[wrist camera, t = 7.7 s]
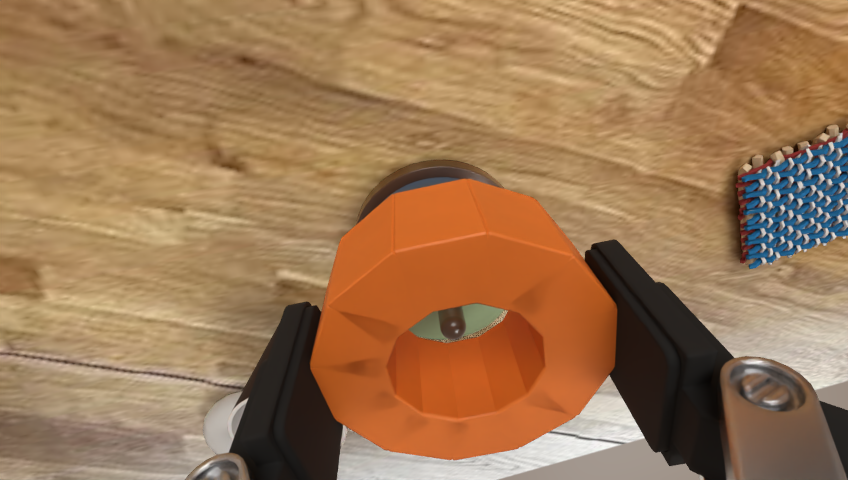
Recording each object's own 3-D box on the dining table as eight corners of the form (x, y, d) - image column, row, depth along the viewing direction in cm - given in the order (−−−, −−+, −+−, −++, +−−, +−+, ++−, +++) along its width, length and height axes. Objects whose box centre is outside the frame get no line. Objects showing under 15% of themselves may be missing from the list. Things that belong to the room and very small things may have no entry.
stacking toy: (320, 232, 34) (289, 332, 24) (450, 122, 30) (477, 185, 20) (427, 325, 40) (438, 437, 30) (548, 241, 36) (608, 338, 26)
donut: (305, 445, 48) (309, 387, 43) (299, 475, 45) (303, 416, 40) (213, 439, 47) (207, 378, 42) (200, 470, 44) (192, 408, 39)
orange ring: (277, 292, 12) (247, 368, 9) (473, 122, 10) (499, 164, 7) (439, 408, 15) (448, 489, 12) (616, 296, 13) (668, 367, 10)
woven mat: (858, 218, 37) (882, 229, 35) (734, 263, 38) (750, 276, 37) (870, 107, 32) (898, 113, 30) (727, 164, 33) (745, 174, 32)
